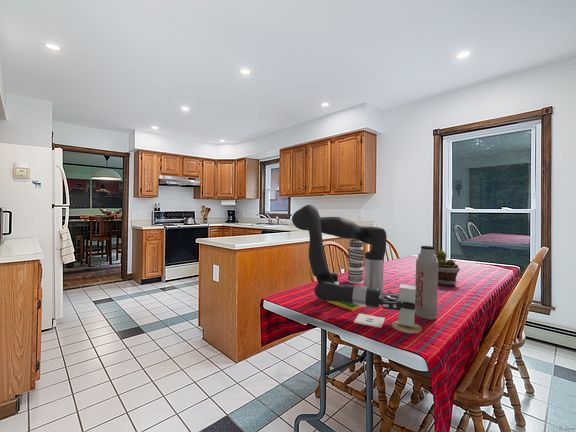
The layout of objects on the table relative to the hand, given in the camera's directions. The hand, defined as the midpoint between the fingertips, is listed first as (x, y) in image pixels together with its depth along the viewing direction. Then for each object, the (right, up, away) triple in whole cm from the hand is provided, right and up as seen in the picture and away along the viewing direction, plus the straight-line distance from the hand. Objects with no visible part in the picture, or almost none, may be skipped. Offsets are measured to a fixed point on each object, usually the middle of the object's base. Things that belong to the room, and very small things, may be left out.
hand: (415, 304), depth 101 cm
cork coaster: (-2, -9, +1) cm, 9 cm away
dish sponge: (-20, -8, +24) cm, 33 cm away
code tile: (-14, -9, +7) cm, 18 cm away
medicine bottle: (-25, -8, +33) cm, 42 cm away
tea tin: (-2, -7, +1) cm, 8 cm away
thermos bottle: (+10, -9, +13) cm, 19 cm away
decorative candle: (-6, -7, +64) cm, 64 cm away
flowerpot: (+44, -8, +61) cm, 76 cm away
